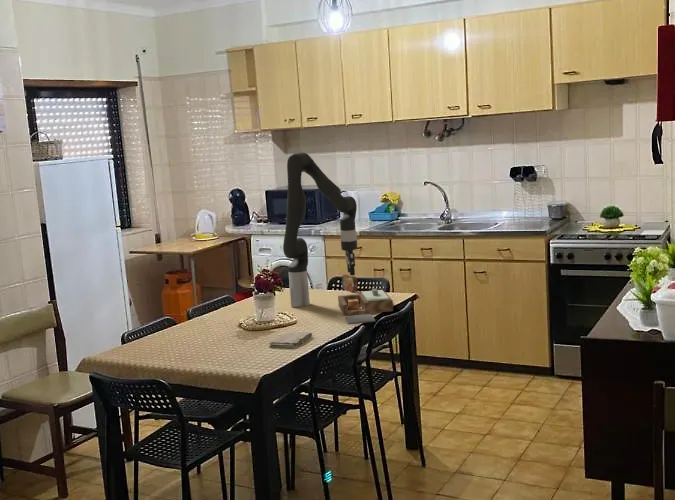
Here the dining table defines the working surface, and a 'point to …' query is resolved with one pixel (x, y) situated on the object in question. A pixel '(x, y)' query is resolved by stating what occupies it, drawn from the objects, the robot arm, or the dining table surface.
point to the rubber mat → (359, 319)
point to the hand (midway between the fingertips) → (351, 273)
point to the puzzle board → (364, 304)
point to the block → (353, 304)
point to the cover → (375, 295)
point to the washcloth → (290, 340)
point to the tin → (349, 283)
